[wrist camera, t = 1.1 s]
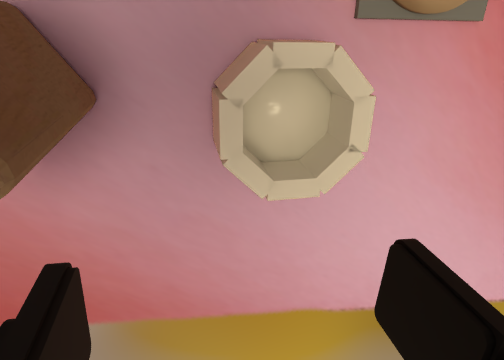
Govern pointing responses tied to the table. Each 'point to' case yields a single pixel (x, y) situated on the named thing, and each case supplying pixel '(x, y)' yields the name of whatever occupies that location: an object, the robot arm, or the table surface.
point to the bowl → (291, 117)
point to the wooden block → (33, 97)
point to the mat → (383, 7)
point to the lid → (429, 5)
